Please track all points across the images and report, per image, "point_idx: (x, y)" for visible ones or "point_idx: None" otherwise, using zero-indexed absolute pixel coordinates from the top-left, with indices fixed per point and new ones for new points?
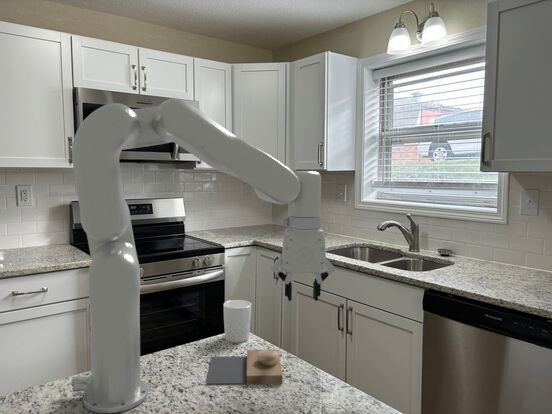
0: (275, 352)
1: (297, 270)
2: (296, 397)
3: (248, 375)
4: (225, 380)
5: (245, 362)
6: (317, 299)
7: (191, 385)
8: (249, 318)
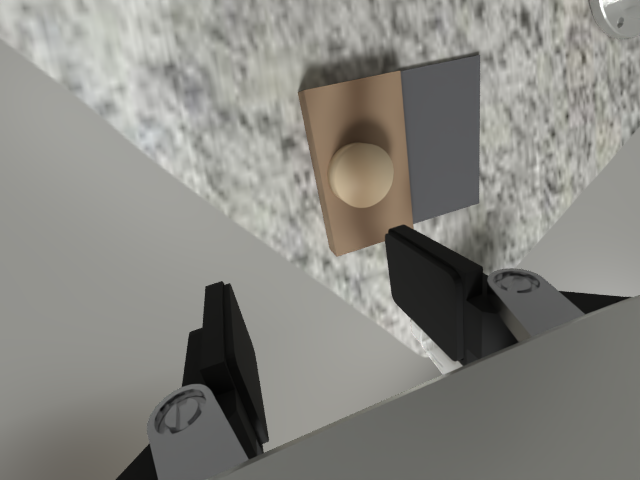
0: (345, 191)
1: (585, 349)
2: (244, 11)
3: (396, 72)
4: (439, 80)
5: None
6: (208, 287)
7: (506, 48)
8: (442, 352)
